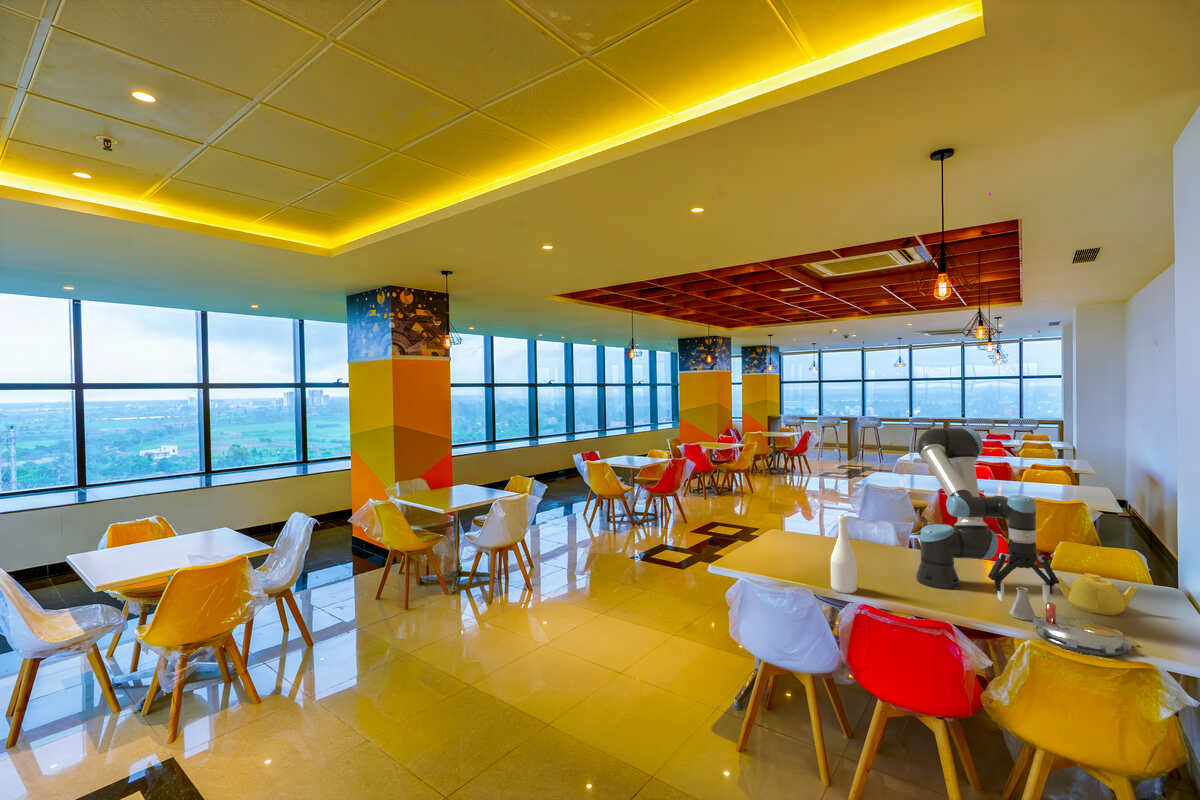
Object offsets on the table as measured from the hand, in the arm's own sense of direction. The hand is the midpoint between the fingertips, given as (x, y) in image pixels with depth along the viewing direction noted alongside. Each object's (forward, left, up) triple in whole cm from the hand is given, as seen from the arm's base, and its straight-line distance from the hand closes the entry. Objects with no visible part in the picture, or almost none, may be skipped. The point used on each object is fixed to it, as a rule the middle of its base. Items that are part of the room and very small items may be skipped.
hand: (1023, 601), depth 183 cm
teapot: (+29, +14, -6) cm, 33 cm away
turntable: (+8, -16, -4) cm, 18 cm away
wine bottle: (-55, +15, -6) cm, 57 cm away
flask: (0, 0, -6) cm, 6 cm away
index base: (+10, -16, -6) cm, 19 cm away
